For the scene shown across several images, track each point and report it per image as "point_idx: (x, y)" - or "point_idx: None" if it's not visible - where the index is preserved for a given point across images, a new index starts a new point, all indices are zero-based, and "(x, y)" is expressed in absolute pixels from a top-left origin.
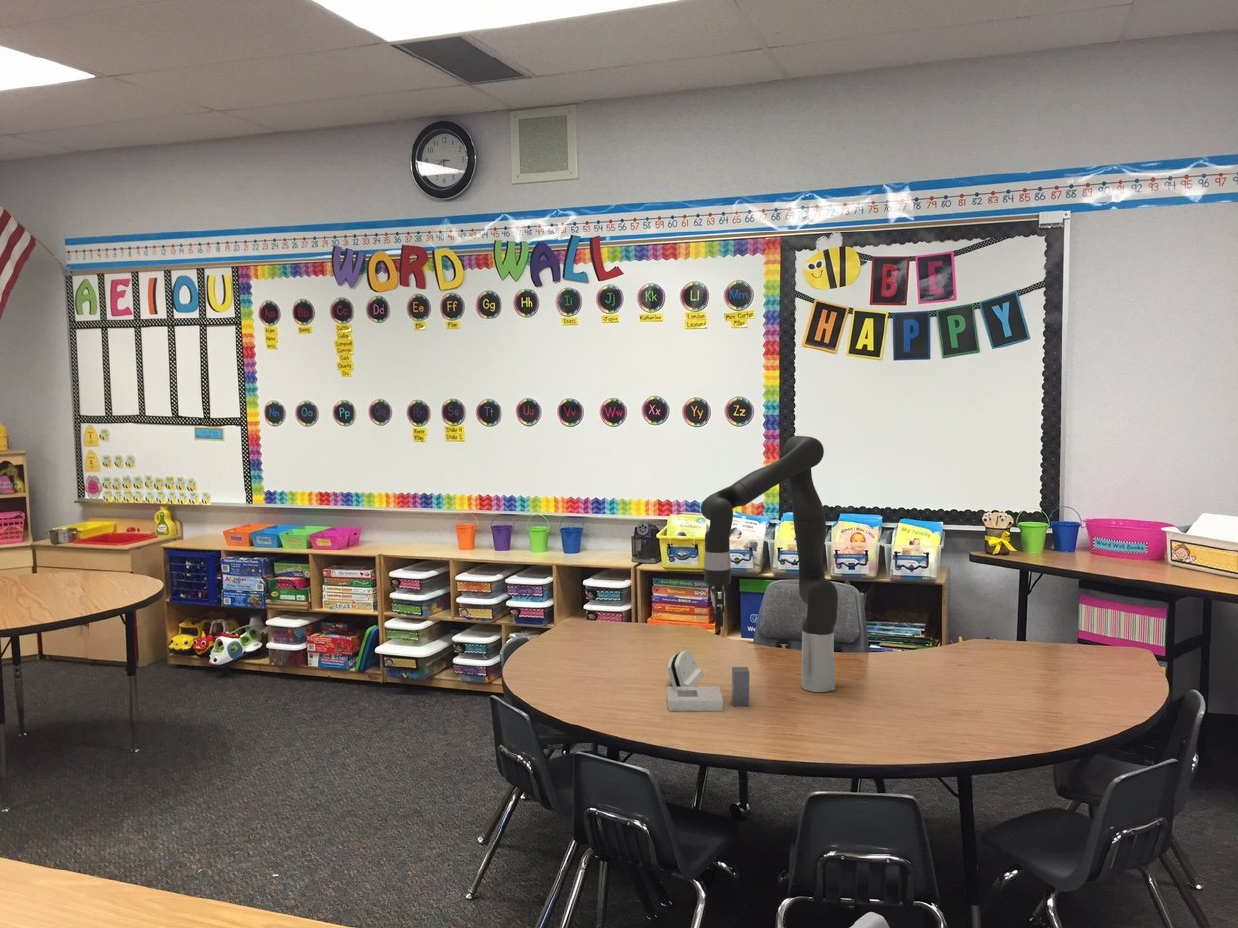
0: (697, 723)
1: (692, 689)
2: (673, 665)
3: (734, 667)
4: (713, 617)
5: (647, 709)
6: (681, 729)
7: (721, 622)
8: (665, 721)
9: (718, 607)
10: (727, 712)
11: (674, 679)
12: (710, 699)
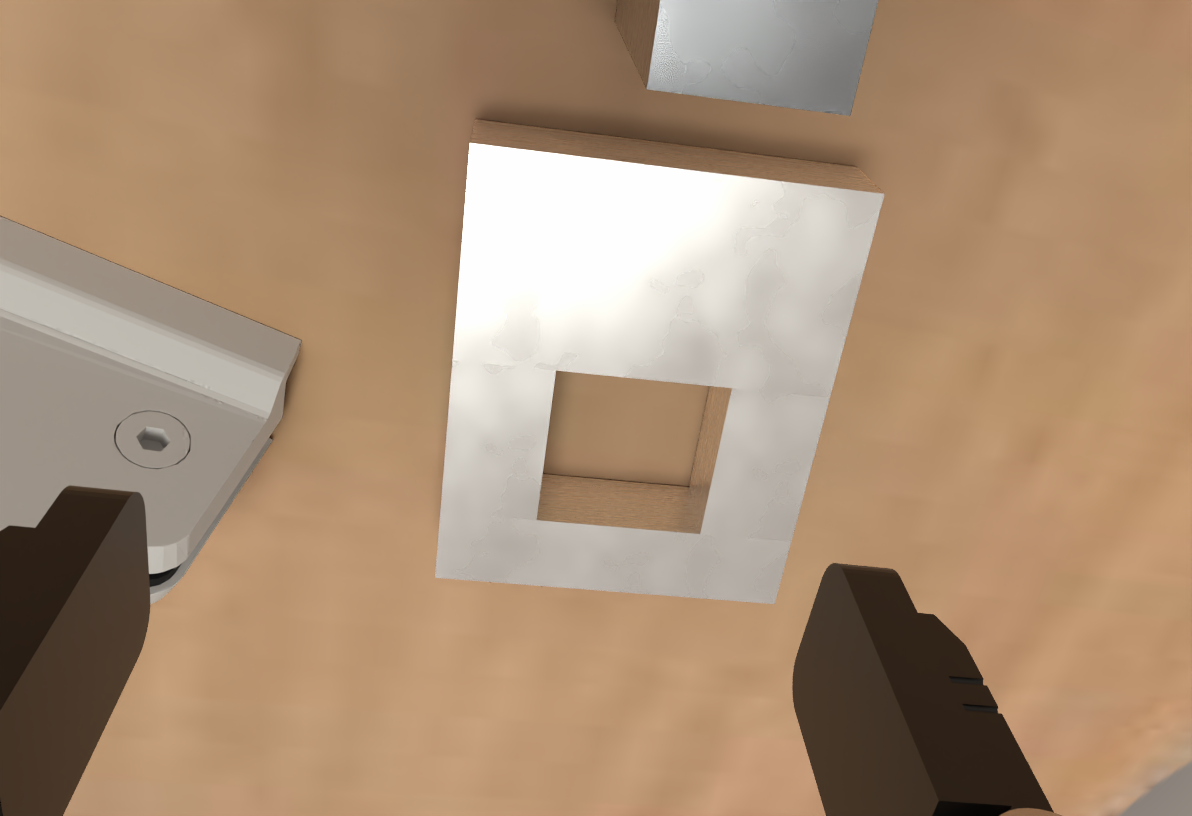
0: (1056, 410)
1: (531, 399)
2: None
3: (673, 58)
4: (136, 655)
5: (697, 668)
6: (1124, 524)
7: (965, 672)
8: (949, 595)
9: (10, 763)
10: (897, 135)
11: (229, 497)
12: (827, 299)
